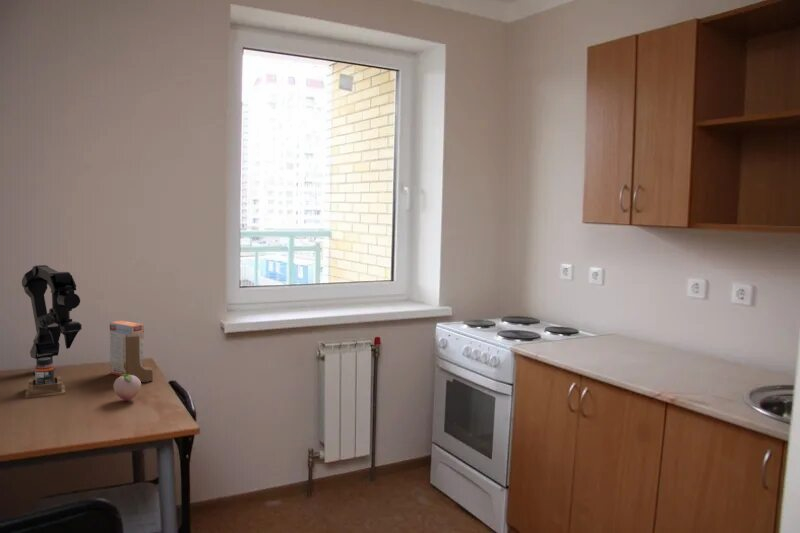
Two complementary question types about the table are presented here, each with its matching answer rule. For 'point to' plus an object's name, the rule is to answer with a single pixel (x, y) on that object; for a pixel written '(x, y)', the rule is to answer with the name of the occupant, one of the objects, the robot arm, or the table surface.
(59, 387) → the socket
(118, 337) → the cracker box
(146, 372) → the wooden block
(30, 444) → the table surface
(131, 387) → the decorative fruit
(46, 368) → the supplement bottle
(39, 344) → the robot arm
